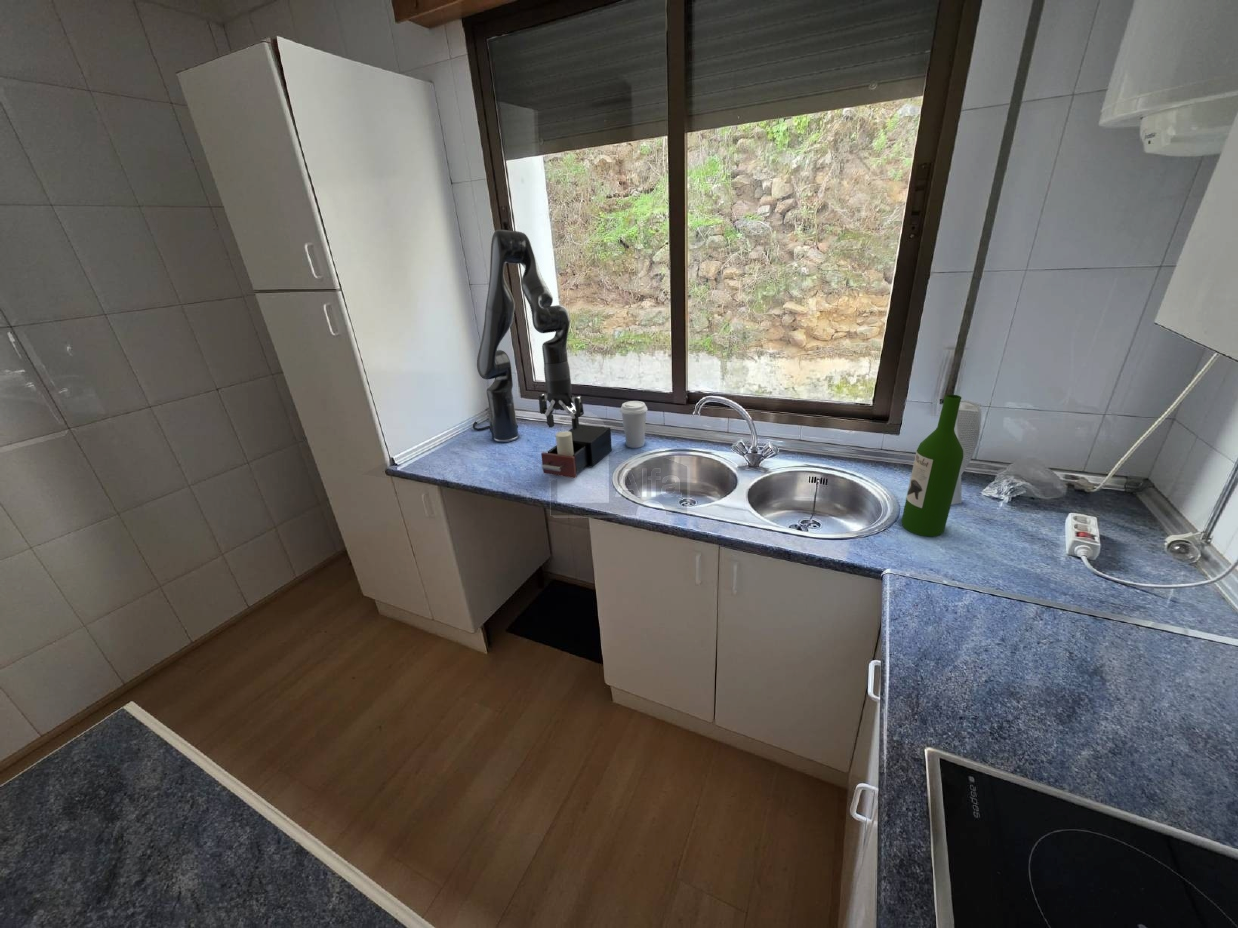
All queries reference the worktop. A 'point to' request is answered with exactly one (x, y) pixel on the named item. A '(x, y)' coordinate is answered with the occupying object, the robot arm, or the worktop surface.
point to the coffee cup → (634, 422)
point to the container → (564, 443)
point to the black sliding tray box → (593, 441)
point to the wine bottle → (934, 475)
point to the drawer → (566, 461)
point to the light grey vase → (966, 437)
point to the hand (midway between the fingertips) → (563, 428)
